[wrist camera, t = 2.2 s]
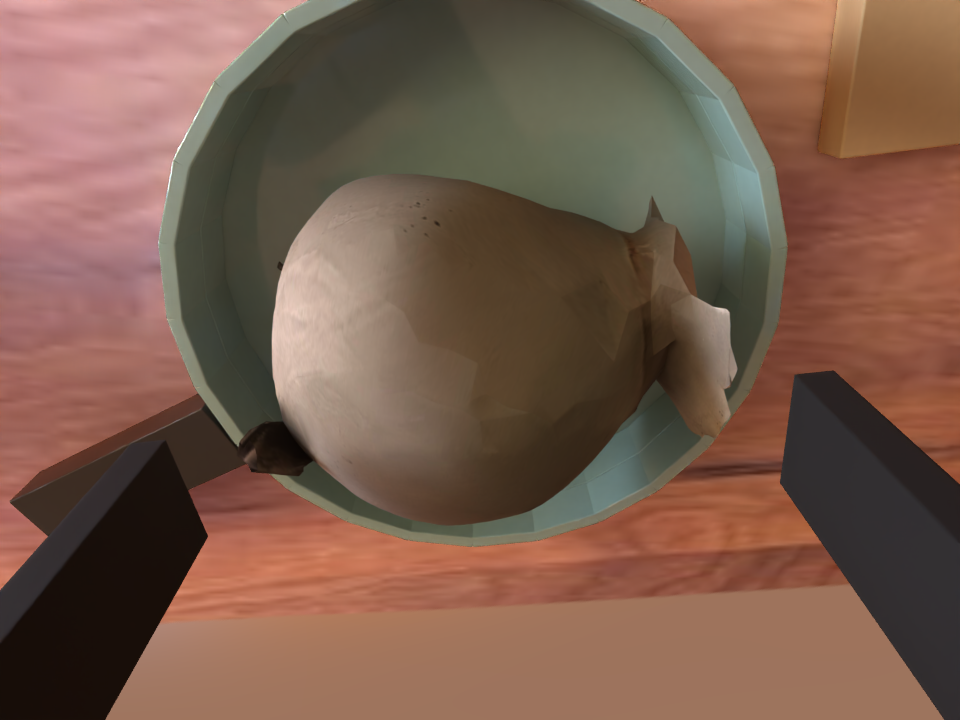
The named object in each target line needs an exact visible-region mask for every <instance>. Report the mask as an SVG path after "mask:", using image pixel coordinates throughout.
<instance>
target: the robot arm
mask: <svg viewBox="0 0 960 720" xmlns="http://www.w3.org/2000/svg"><path fill="white" fill-rule="evenodd" d="M780 484H781V485H782V486H783V488H784V489H785V491H786V492H787V494H788V495H789V497H790V498H791V499H792V501H793V502H794V504H795V505H796V507H797V508H798V510H799V511H800V512H801V514H802V515H803V517H804V518H805V520H806V521H807V522H808V524H809V525H810V527H811V528H812V530H813V531H814V533H815V534H816V535H817V537H818V538H819V540H820V541H821V543H822V544H823V546H824V547H825V548H826V550H827V551H828V553H829V554H830V556H831V557H832V559H833V560H834V561H835V563H836V564H837V566H838V567H839V569H840V570H841V571H842V573H843V574H844V576H845V577H846V579H847V580H848V582H849V583H850V584H851V586H852V587H853V589H854V590H855V592H856V593H857V595H858V596H859V597H860V599H861V600H862V602H863V603H864V604H865V606H866V607H867V609H868V610H869V612H870V613H871V615H872V616H873V617H874V619H875V620H876V622H877V623H878V625H879V626H880V628H881V629H882V630H883V632H884V633H885V635H886V636H887V638H888V639H889V641H890V642H891V643H892V645H893V646H894V648H895V649H896V651H897V652H898V653H899V655H900V656H901V658H902V659H903V661H904V662H905V663H906V665H907V666H908V668H909V669H910V671H911V672H912V674H913V675H914V677H915V678H916V679H917V681H918V682H919V684H920V685H921V687H922V688H923V690H924V691H925V692H926V694H927V695H928V697H929V698H930V700H931V701H932V702H933V704H934V705H935V707H936V708H937V710H938V711H939V713H940V714H941V715H942V717H943V718H944V720H960V484H959V483H958V482H957V481H955V480H954V479H953V478H952V477H951V476H950V475H949V474H948V473H947V472H945V471H944V470H943V469H942V468H941V467H940V466H939V465H938V464H937V463H936V462H934V461H933V460H932V459H931V458H930V457H929V456H928V455H927V454H926V453H924V452H923V451H922V450H921V449H920V448H919V447H918V446H917V445H916V444H914V443H913V442H912V441H911V440H910V439H909V438H908V437H907V436H906V435H905V434H903V433H902V432H901V431H900V430H899V429H898V428H897V427H896V426H895V425H893V424H892V423H891V422H890V421H889V420H888V419H887V418H886V417H885V416H883V415H882V414H881V413H880V412H879V411H878V410H877V409H876V408H875V407H874V406H872V405H871V404H870V403H869V402H868V401H867V400H866V399H865V398H864V397H862V396H861V395H860V394H859V393H858V392H857V391H856V390H855V389H854V388H852V387H851V386H850V385H849V384H848V383H847V382H846V381H845V380H844V379H843V378H841V377H840V376H839V375H838V374H837V373H836V372H835V371H825V372H815V373H805V374H796V375H795V376H794V383H793V390H792V398H791V405H790V412H789V420H788V427H787V435H786V442H785V449H784V457H783V464H782V471H781V479H780ZM207 537H208V535H207V533H206V531H205V528H204V526H203V524H202V522H201V519H200V517H199V515H198V512H197V510H196V508H195V506H194V503H193V501H192V499H191V496H190V494H189V492H188V490H187V487H186V485H185V483H184V480H183V478H182V476H181V474H180V471H179V469H178V467H177V464H176V462H175V460H174V458H173V455H172V453H171V451H170V449H169V446H168V444H167V442H166V440H158V441H149V442H139V443H131V444H130V445H129V446H128V447H127V449H126V450H125V451H124V452H123V453H122V454H121V455H120V456H119V458H118V459H117V460H116V461H115V462H114V463H113V464H112V465H111V467H110V468H109V469H108V470H107V471H106V472H105V473H104V474H103V476H102V477H101V478H100V479H99V480H98V481H97V482H96V483H95V484H94V486H93V487H92V488H91V489H90V490H89V491H88V492H87V493H86V495H85V496H84V497H83V498H82V499H81V500H80V501H79V502H78V504H77V505H76V506H75V507H74V508H73V509H72V510H71V511H70V513H69V514H68V515H67V516H66V517H65V518H64V519H63V520H62V522H61V523H60V524H59V525H58V526H57V527H56V528H55V529H54V530H53V532H52V533H51V534H50V535H49V536H48V537H47V538H46V539H45V541H44V542H43V543H42V544H41V545H40V546H39V547H38V548H37V550H36V551H35V552H34V553H33V554H32V555H31V556H30V557H29V559H28V560H27V561H26V562H25V563H24V564H23V565H22V566H21V568H20V569H19V570H18V571H17V572H16V573H15V574H14V575H13V576H12V578H11V579H10V580H9V581H8V582H7V583H6V584H5V585H4V587H3V588H2V589H1V590H0V720H105V719H106V717H107V715H108V713H109V712H110V710H111V708H112V706H113V705H114V703H115V701H116V699H117V698H118V696H119V694H120V692H121V690H122V689H123V687H124V685H125V683H126V682H127V680H128V678H129V676H130V674H131V673H132V671H133V669H134V667H135V666H136V664H137V662H138V660H139V658H140V657H141V655H142V653H143V651H144V649H145V648H146V646H147V644H148V642H149V640H150V639H151V637H152V635H153V634H154V632H155V630H156V628H157V626H158V625H159V623H160V621H161V619H162V618H163V616H164V614H165V612H166V610H167V609H168V607H169V605H170V603H171V602H172V600H173V598H174V596H175V594H176V593H177V591H178V589H179V587H180V585H181V584H182V582H183V580H184V578H185V577H186V575H187V573H188V571H189V569H190V568H191V566H192V564H193V562H194V561H195V559H196V557H197V555H198V553H199V552H200V550H201V548H202V546H203V545H204V543H205V541H206V539H207Z"/></svg>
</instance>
